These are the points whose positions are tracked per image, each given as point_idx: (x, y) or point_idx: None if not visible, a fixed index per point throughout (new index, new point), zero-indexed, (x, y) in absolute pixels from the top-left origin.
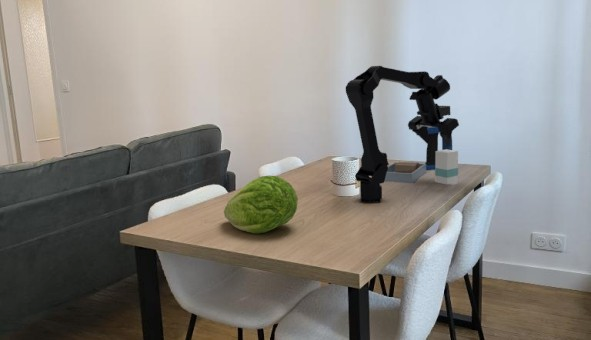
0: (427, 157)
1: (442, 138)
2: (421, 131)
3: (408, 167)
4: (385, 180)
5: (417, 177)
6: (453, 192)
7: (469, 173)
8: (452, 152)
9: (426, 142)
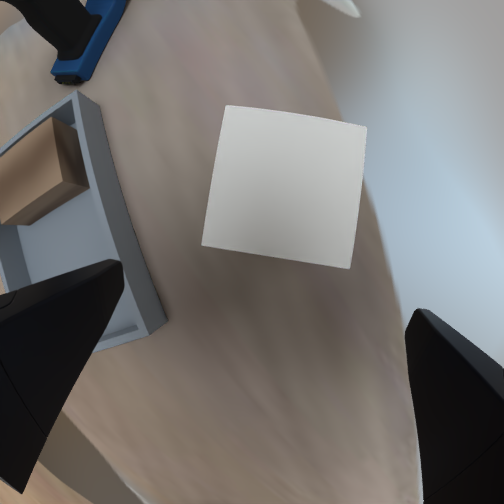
0: (53, 41)
1: (427, 482)
2: (13, 438)
3: (47, 196)
4: None
5: (129, 236)
6: (391, 335)
7: (243, 3)
8: (358, 199)
9: (102, 319)
